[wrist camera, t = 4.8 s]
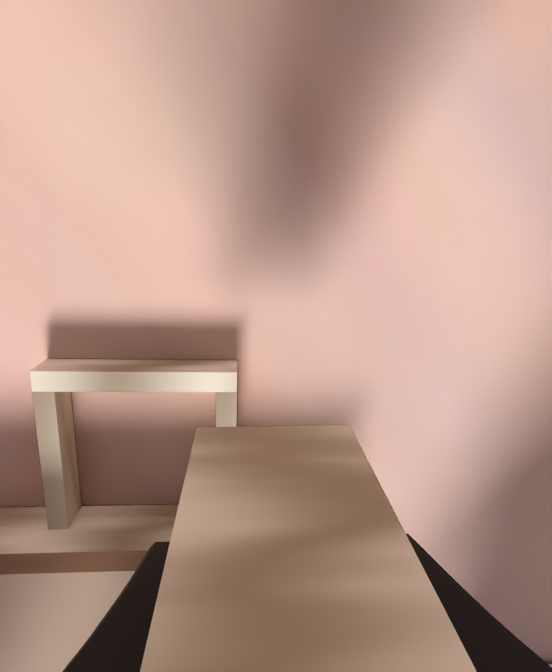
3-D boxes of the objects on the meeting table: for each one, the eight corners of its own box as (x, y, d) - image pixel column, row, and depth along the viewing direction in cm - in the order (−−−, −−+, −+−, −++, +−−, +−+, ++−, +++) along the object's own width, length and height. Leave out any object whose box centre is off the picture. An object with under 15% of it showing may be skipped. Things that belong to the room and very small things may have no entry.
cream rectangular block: (349, 424, 12) (557, 827, 4) (341, 552, 13) (493, 1074, 5) (196, 427, 11) (94, 866, 4) (200, 557, 12) (126, 1118, 5)
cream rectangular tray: (337, 361, 19) (355, 387, 16) (312, 728, 24) (321, 798, 21) (-64, 358, 17) (-126, 385, 14) (3, 745, 23) (-33, 822, 20)
